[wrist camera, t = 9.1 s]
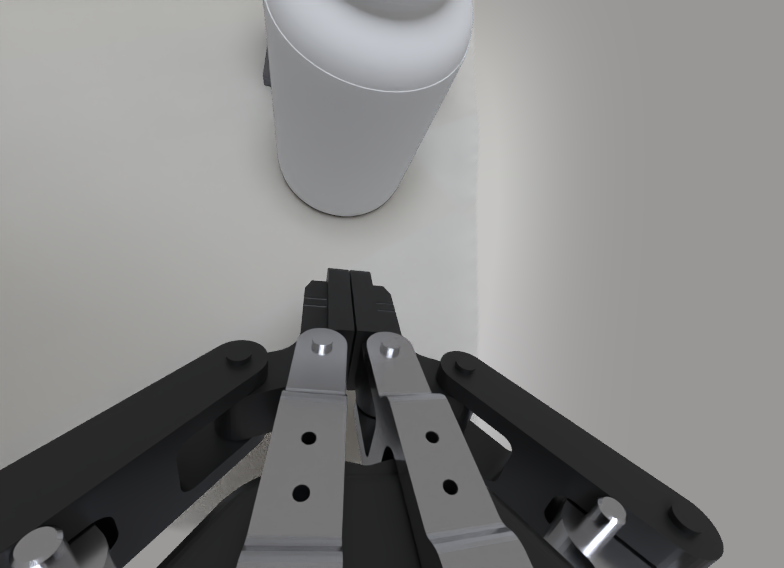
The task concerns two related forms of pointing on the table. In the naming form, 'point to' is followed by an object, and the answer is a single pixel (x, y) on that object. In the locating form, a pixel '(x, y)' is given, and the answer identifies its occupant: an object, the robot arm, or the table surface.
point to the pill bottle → (358, 91)
